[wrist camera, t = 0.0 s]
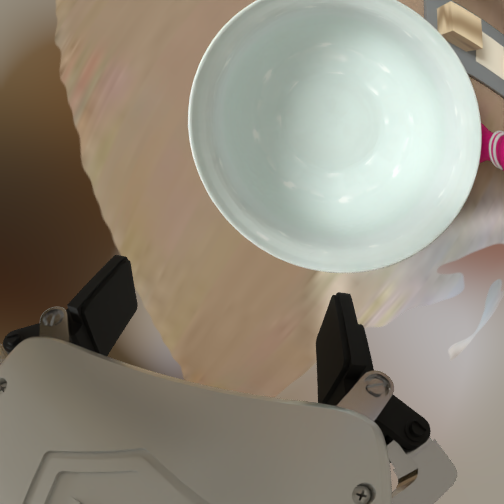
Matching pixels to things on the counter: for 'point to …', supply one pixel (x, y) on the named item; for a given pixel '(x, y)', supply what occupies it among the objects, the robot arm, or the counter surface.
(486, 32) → the board
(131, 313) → the robot arm
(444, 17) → the maple block
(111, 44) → the counter surface
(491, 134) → the pepper mill
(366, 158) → the bowl
